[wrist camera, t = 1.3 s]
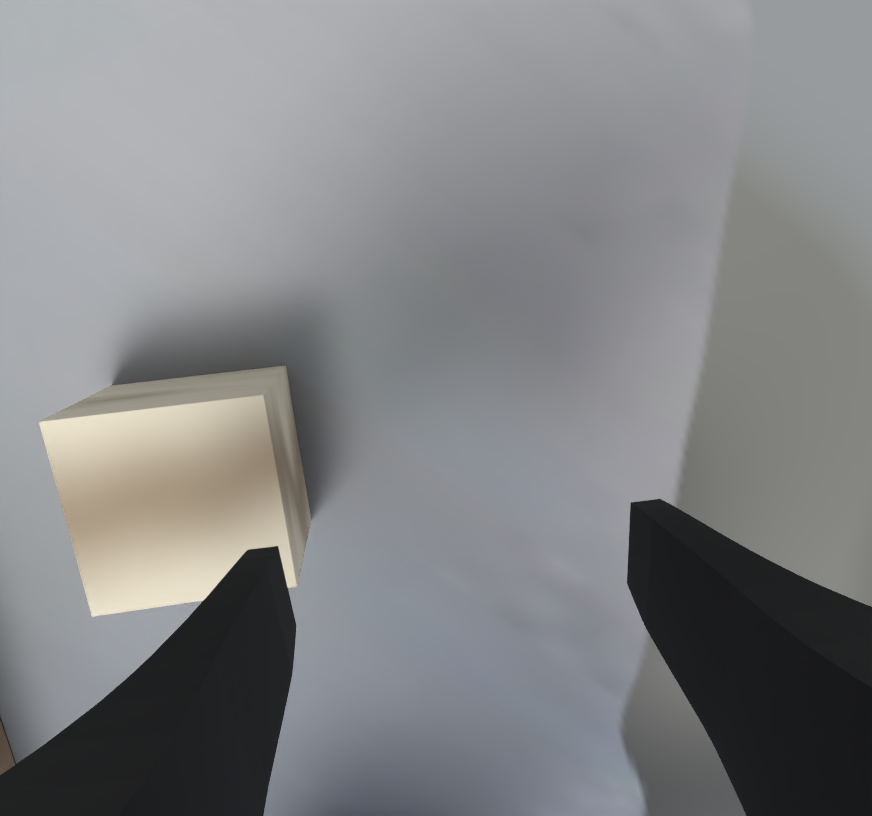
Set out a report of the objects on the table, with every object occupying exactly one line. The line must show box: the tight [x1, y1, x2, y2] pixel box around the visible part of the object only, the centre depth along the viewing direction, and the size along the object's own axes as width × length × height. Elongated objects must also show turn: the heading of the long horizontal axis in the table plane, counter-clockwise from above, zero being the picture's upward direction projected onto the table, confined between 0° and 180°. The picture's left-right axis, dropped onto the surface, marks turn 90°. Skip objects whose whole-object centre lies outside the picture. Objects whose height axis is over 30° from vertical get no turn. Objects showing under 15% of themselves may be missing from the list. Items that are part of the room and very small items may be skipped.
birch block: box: [39, 365, 311, 617], centre depth 20 cm, size 6×6×5 cm
